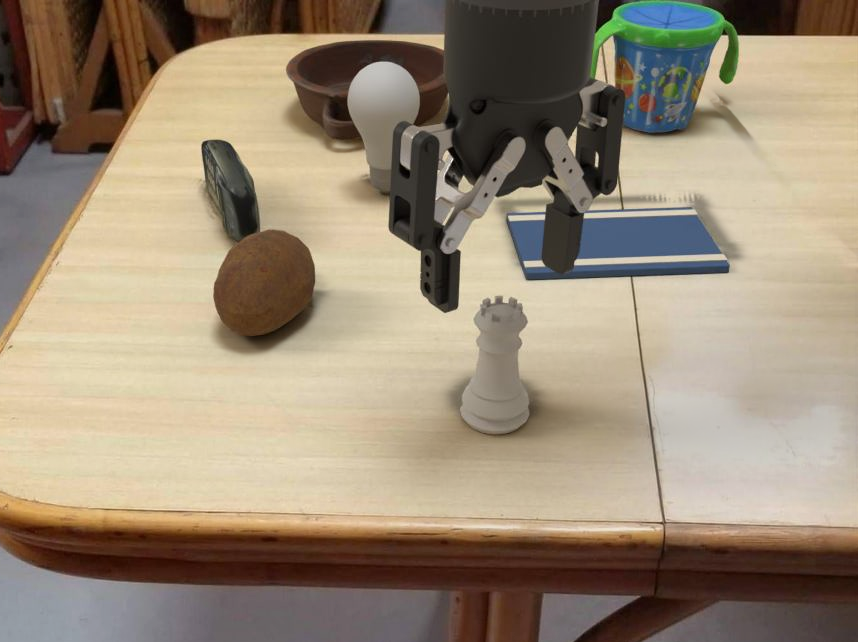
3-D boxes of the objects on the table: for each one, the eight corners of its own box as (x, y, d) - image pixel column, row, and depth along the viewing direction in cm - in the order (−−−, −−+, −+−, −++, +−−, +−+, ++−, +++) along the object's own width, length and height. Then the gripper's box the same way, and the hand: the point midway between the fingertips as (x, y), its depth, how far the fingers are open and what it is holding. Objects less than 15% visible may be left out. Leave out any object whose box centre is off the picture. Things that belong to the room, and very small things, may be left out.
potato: (196, 344, 76) (183, 262, 72) (252, 282, 83) (244, 204, 79) (281, 359, 74) (274, 276, 70) (332, 294, 81) (328, 216, 77)
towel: (690, 213, 92) (692, 205, 92) (728, 272, 84) (730, 264, 83) (506, 219, 91) (506, 211, 91) (526, 280, 83) (526, 271, 83)
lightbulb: (408, 175, 98) (408, 49, 91) (427, 202, 94) (429, 71, 87) (344, 182, 97) (339, 55, 90) (359, 210, 93) (355, 78, 86)
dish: (473, 84, 117) (475, 35, 114) (438, 160, 101) (439, 106, 98) (319, 74, 120) (317, 26, 117) (261, 146, 104) (256, 93, 101)
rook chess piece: (456, 434, 67) (460, 321, 62) (463, 395, 71) (467, 285, 66) (527, 440, 67) (537, 326, 62) (530, 400, 70) (540, 290, 65)
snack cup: (708, 100, 113) (727, -5, 106) (745, 137, 105) (769, 26, 98) (563, 108, 111) (574, 2, 105) (591, 146, 103) (604, 33, 97)
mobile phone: (194, 136, 93) (231, 198, 82) (228, 132, 94) (269, 193, 83) (201, 192, 96) (238, 259, 85) (234, 187, 97) (275, 253, 86)
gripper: (449, 23, 47) (439, 349, 57) (683, -23, 53) (635, 280, 63) (358, -14, 51) (364, 294, 62) (582, -52, 57) (553, 234, 68)
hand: (501, 286), depth 63 cm, fingers open, 8 cm apart
